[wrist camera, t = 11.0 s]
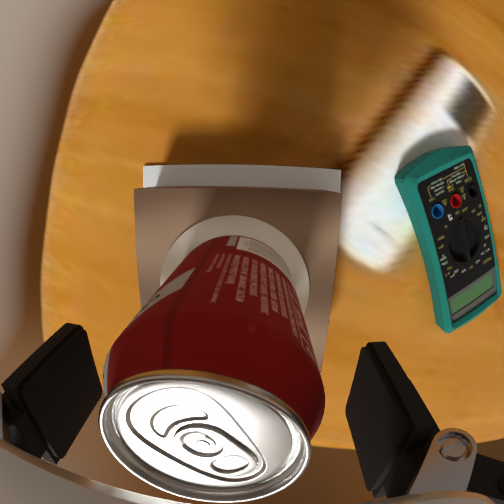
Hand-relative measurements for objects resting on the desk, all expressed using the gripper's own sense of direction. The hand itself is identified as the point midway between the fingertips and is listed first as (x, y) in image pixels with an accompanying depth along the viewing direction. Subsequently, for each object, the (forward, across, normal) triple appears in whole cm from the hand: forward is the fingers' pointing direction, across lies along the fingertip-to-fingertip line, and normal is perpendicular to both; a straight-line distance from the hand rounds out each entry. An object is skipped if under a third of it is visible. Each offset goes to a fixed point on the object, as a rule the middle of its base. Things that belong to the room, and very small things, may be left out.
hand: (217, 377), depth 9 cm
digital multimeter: (+14, -17, -2) cm, 22 cm away
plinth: (+13, 0, +1) cm, 13 cm away
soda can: (+9, 0, 0) cm, 9 cm away
